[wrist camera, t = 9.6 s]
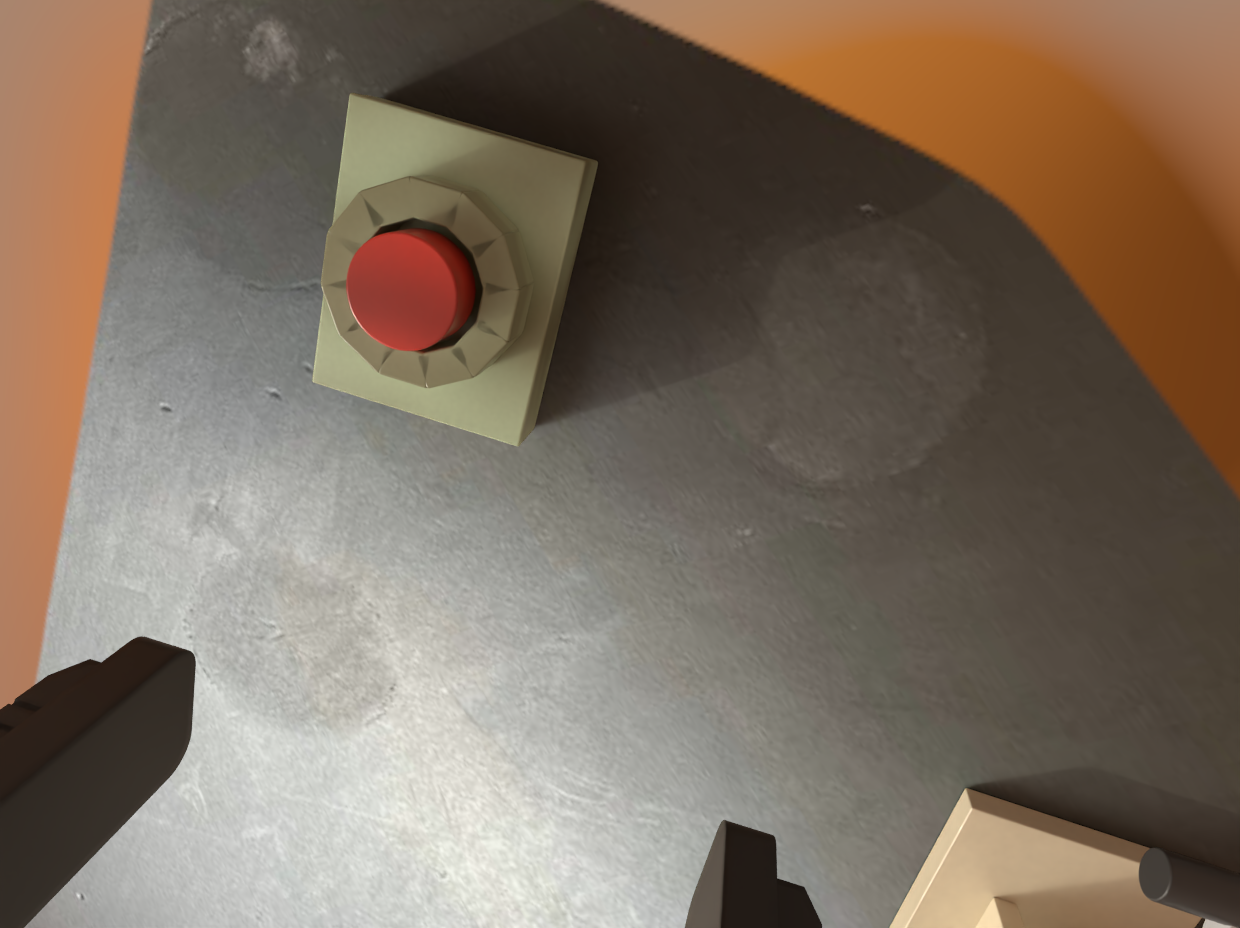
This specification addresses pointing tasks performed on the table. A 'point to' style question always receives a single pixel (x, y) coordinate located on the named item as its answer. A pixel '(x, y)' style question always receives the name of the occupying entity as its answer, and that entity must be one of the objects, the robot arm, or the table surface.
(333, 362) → the button block
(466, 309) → the power button
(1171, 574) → the table surface
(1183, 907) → the switch lever
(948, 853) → the wooden stand
